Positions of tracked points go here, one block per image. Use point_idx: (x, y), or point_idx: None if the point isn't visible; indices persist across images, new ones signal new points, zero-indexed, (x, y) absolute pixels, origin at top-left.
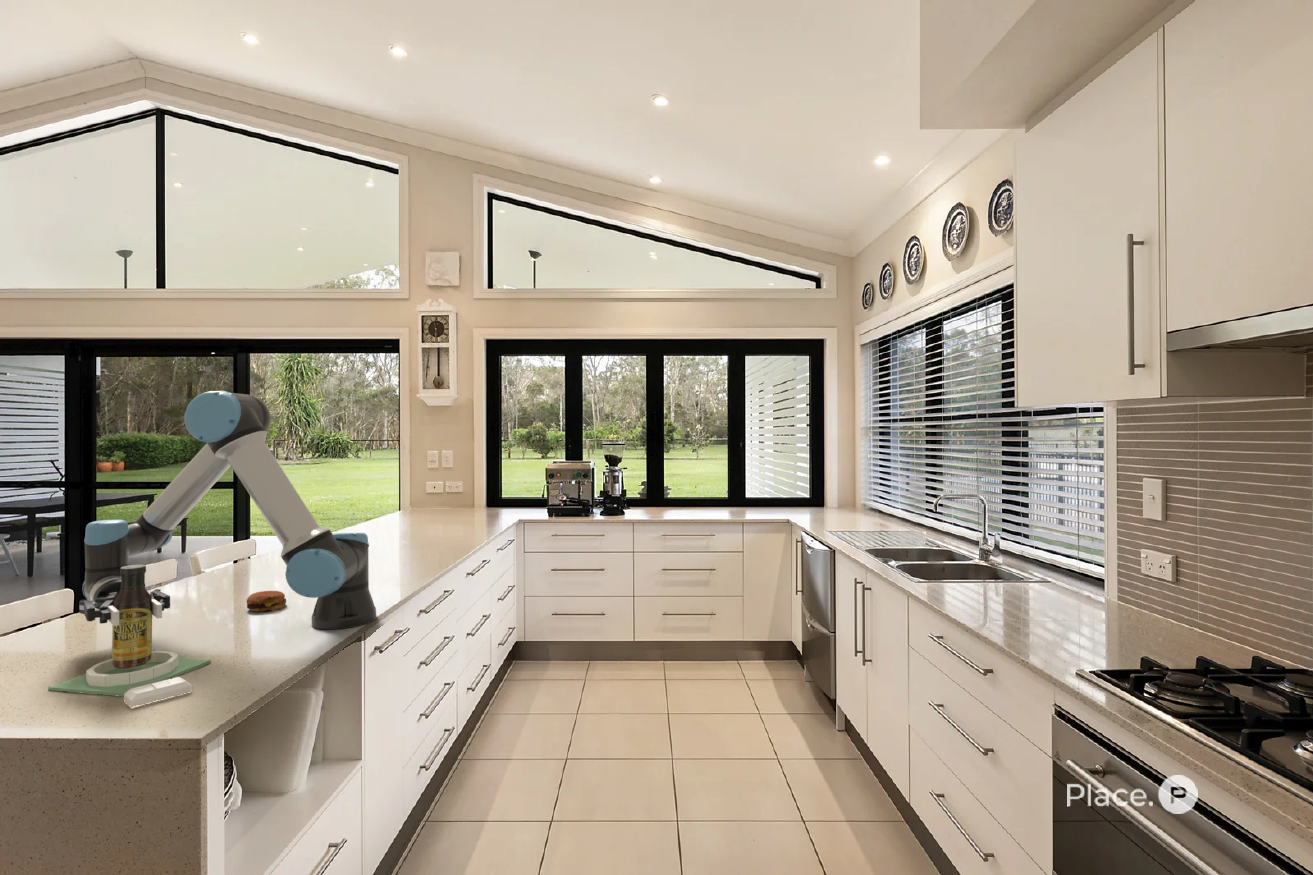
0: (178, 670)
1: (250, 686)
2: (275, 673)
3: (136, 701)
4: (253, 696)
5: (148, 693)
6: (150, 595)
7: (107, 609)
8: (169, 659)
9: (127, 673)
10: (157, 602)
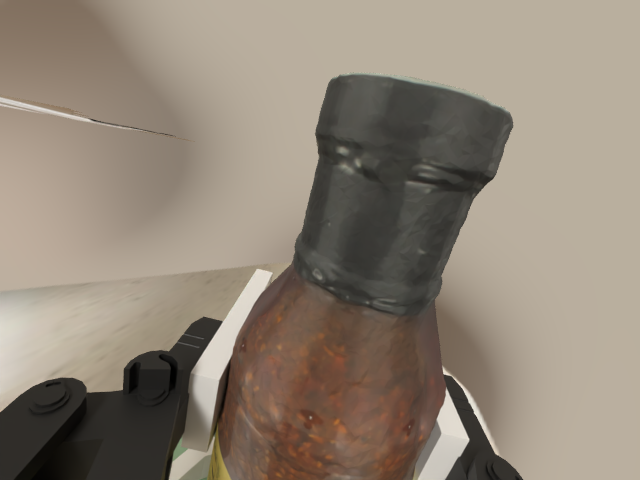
0: (181, 452)
1: (200, 289)
2: (137, 292)
3: None
4: (227, 271)
5: None
6: (264, 290)
7: (461, 455)
8: (180, 476)
9: None
10: (247, 295)
